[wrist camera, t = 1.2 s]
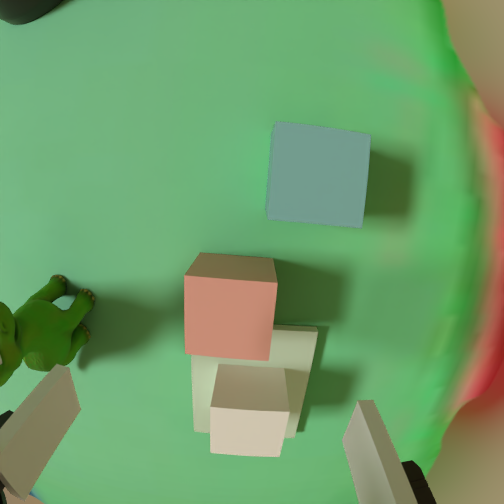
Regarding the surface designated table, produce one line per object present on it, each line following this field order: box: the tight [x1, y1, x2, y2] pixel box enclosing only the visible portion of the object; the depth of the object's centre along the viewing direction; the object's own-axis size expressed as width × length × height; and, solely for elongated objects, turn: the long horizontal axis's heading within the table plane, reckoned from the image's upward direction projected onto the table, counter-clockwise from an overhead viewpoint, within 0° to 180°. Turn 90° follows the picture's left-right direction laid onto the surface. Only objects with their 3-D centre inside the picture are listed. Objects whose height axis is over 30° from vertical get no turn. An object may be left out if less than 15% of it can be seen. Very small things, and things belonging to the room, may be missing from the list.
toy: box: [0, 275, 95, 387], centre depth 20 cm, size 6×14×15 cm, turn 157°
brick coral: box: [184, 253, 278, 361], centre depth 23 cm, size 6×6×6 cm
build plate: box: [191, 324, 318, 457], centre depth 25 cm, size 14×11×7 cm
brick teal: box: [265, 121, 371, 228], centre depth 21 cm, size 6×6×6 cm
